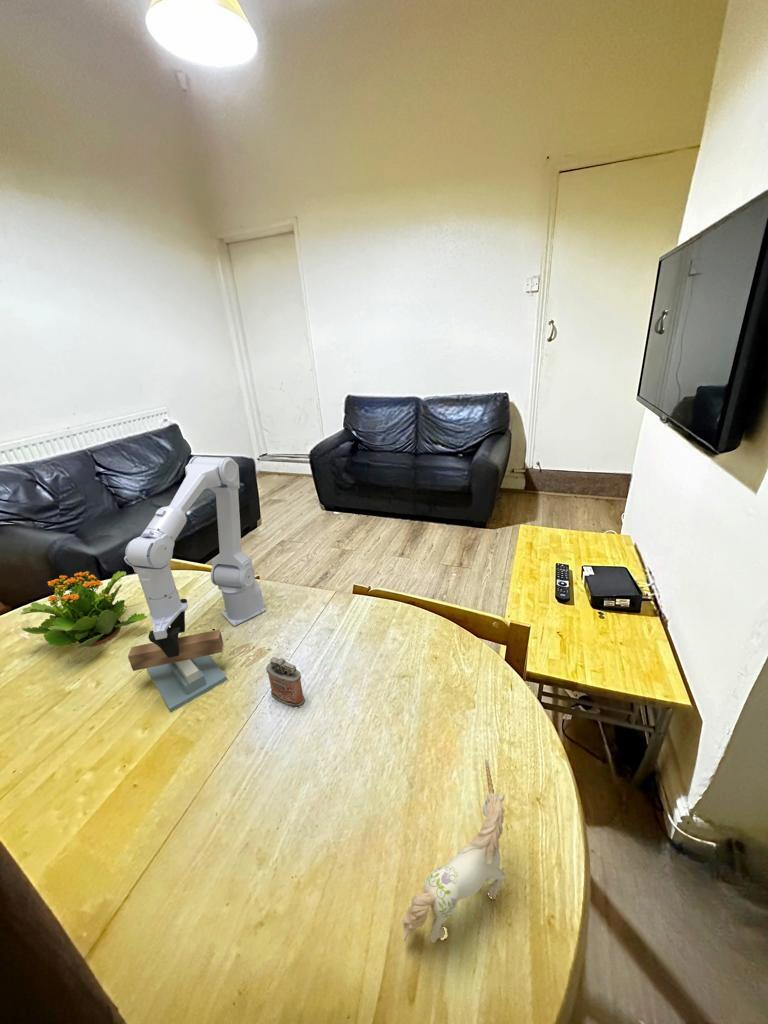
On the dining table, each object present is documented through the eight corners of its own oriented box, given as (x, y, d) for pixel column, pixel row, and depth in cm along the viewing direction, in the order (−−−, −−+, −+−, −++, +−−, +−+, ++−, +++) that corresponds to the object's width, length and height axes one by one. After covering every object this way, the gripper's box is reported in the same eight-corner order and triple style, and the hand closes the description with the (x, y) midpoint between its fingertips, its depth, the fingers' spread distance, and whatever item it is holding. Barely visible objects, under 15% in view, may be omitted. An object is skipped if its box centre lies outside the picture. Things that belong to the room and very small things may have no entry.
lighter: (267, 697, 87) (260, 660, 83) (278, 685, 89) (271, 649, 85) (298, 711, 83) (291, 673, 79) (308, 698, 86) (302, 662, 82)
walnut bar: (133, 671, 87) (127, 656, 86) (136, 661, 90) (131, 646, 88) (222, 652, 92) (218, 638, 90) (223, 643, 94) (219, 629, 93)
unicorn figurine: (524, 851, 60) (534, 792, 54) (445, 999, 47) (448, 941, 41) (480, 815, 64) (485, 758, 59) (398, 941, 51) (395, 882, 46)
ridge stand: (147, 670, 95) (140, 652, 93) (199, 644, 102) (194, 626, 100) (170, 712, 84) (163, 692, 82) (227, 679, 91) (222, 660, 89)
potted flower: (172, 609, 116) (156, 555, 109) (114, 673, 94) (89, 611, 87) (90, 606, 119) (69, 553, 112) (16, 668, 97) (-16, 607, 90)
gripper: (175, 608, 78) (191, 662, 84) (187, 569, 91) (200, 619, 97) (134, 615, 77) (154, 670, 82) (152, 575, 90) (168, 625, 95)
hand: (176, 643), depth 89 cm, fingers open, 7 cm apart
